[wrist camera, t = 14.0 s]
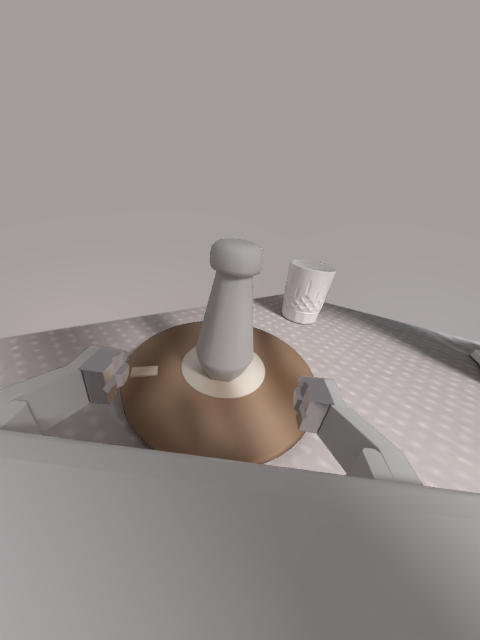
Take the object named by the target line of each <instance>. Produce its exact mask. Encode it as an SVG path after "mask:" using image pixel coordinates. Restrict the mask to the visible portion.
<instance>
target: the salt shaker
mask: <svg viewBox="0 0 480 640" xmlns="http://www.w3.org/2000/svg"><path fill="white" fill-rule="evenodd" d="M210 265H211V267H212V268H213V269H214V270H216V275H215V279H214V282H213V286H212V290H211V294H210V298H209V301H208V305H207V309H206V312H205V316H204V320H203V324H202V327H201V331H200V335H199V339H198V342H197V346H196V354H197V357H198V359H199V362H200V363H201V365H202V367H203V369H204V370H205V371H206V373H207V374H208V376H209V377H210V378H211V380H218V381H224V382H231V381H232V380H234V379H235V378H237V377H238V376H240V375H241V374H242V373H243V372H244V371H245V370H246V368H247V367H248V366H249V364H250V363H251V362H252V360H253V276H255V275H257V274H259V273H260V271H261V269H262V265H263V250H262V249H261V247H260V246H258V245H257V244H255V243H253V242H249V241H246V240H240V239H220V240H218V241H217V242H215V243H214V244H213V245H212V247H211V251H210Z"/></svg>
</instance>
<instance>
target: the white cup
mask: <svg viewBox="0 0 480 640" xmlns="http://www.w3.org/2000/svg"><path fill="white" fill-rule="evenodd" d="M336 272H337V270H336V269H335V268H334V267H332V266H330V265H327V264H324V263H320V262H316V261H310V260H303V259H295V260H291V261H290V266H289V272H288V277H287V282H286V287H285V293H284V301H283V306H282V311H281V312H282V315H283V316H284V317H285V318H287V319H288V320H290V321H293V322H296V323H300V324H312V323H315V321H316V319H317V317H318V314H319V312H320V310H321V309H322V306H323V304H324V302H325V299H326V297H327V294H328V291H329V289H330V287H331V284H332V281H333V279H334V276H335V274H336Z"/></svg>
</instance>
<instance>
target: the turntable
mask: <svg viewBox="0 0 480 640" xmlns="http://www.w3.org/2000/svg"><path fill="white" fill-rule="evenodd" d="M202 324H203V321H201V322H193V323H187V324H183V325H179V326H175V327H172V328H169V329H167V330H164V331H162V332H160V333H158V334H156V335H154V336H153V337H151V338H149V339H148V340H147V341H145V342H144V343H143V344H142V345H141V346H139V347H138V348H137V349H136V350H135V352H134V353H133V354H132V355H131V356H130V358H129V360H128V361H127V364H128V365H129V376H128V378H127V381H126V382H125V384H124V385H123V386H121V387H120V388H121V399H122V404H123V408H124V412H125V415H126V417H127V419H128V421H129V423H130V425H131V427H132V428H133V429H134V431H135V432H136V433H137V435H138V436H139V437H140V438H141V439H142V440H143V441H144V442H145V443H146V444H147V445H148V446H150V447H151V448H153V449H154V450H158V451H166V452H173V453H181V454H188V455H196V456H203V457H211V458H218V459H226V460H233V461H241V462H248V463H256V464H264V463H266V462H269V461H271V460H273V459H275V458H277V457H279V456H281V455H282V454H284V453H285V452H286V451H288V450H289V449H291V448H292V447H293V446H294V445H295V444H296V443H297V442H298V441H299V440H300V439H301V438H302V436H303V435H304V433H305V431H299V430H298V426H297V421H296V415H297V412H296V411H295V409H294V406H293V394H294V391H295V388H297V387H298V386H299V385H298V379H299V377H300V376H301V375H302V376H310V377H313V374H312V372H311V370H310V368H309V367H308V365H307V364H306V362H305V361H304V360H303V359H302V357H301V356H300V355H299V354H298V353H297V352H296V351H295V350H294V349H293V348H292V347H290V346H289V345H288V344H286V343H285V342H283V341H282V340H280V339H279V338H277V337H275V336H273V335H271V334H269V333H267V332H265V331H262V330H260V329H257V328H254V327H253V360H252V362H251V363H250V364H249V366H248V367H247V368H246V370H245V371H244V372H243V373H242V374H241V375H240V376H238V377H237V378H235V379H234V380H232V381H231V382H224V381H218V380H211V378H210V377H209V376H208V374H207V373H206V371H205V370H204V369H203V367H202V365H201V363H200V362H199V359H198V357H197V354H196V346H197V342H198V339H199V335H200V331H201V327H202Z"/></svg>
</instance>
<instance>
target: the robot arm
mask: <svg viewBox="0 0 480 640" xmlns="http://www.w3.org/2000/svg"><path fill="white" fill-rule="evenodd" d="M470 355H471V356H472V358H473V359H475V360H476V361H477V362H478V363H479V365H480V350H474V351H473V352H472V353H471V354H470ZM127 358H128V355H127V352H126V351H125V350H119V349H113V348H107V347H100V346H94V345H92V346H89V347H88V348H87V349H86V350H84V351H83V352H82V353H81V354H80V355H79V356H77V357H76V358H75V359H74V360H73V361H72V362H70V363H69V364H68V365H67V366H66V367H65V368H62V367H60V368H57V369H55V370H52V371H49V372H47V373H44V374H41V375H38V376H36V377H33V378H30V379H28V380H25V381H22V382H20V383H17V384H14V385H11V386H9V387H6V388H3V389H1V390H0V640H480V493H473V492H466V491H458V490H450V489H443V488H435V487H428V486H423V484H422V483H421V481H420V479H419V478H418V476H417V474H416V473H415V471H414V470H413V468H412V466H411V465H410V463H409V461H408V460H407V458H406V456H405V455H404V453H403V452H402V451H401V450H400V449H399V448H397V447H396V446H395V445H394V444H393V443H392V442H390V441H389V440H388V439H387V438H386V437H384V436H383V435H382V434H381V433H380V432H379V431H377V430H376V429H375V428H374V427H373V426H371V425H370V424H369V423H368V422H367V421H366V420H364V419H363V418H362V417H361V416H360V415H358V414H357V413H356V412H355V411H354V410H353V409H351V408H350V407H347V406H346V404H345V402H344V400H343V398H342V395H341V393H340V391H339V389H338V387H337V385H336V383H335V381H334V380H333V379H327V378H317V377H310V376H302V375H301V376H300V377H299V379H298V385H299V386H298V387H297V388H295V391H294V394H293V406H294V409H295V411H296V412H297V415H296V421H297V426H298V430H299V431H305V432H311V433H317V435H318V436H319V437H320V439H321V440H322V441H323V443H324V444H325V445H326V447H327V448H328V449H329V451H330V452H331V453H332V455H333V456H334V457H335V459H336V460H337V461H338V463H339V464H340V465H341V466H342V468H343V469H344V470H345V472H346V473H347V474H346V475H338V474H331V473H323V472H316V471H308V470H301V469H294V468H286V467H278V466H271V465H263V464H256V463H248V462H241V461H233V460H226V459H218V458H211V457H203V456H196V455H188V454H181V453H173V452H166V451H158V450H151V449H144V448H136V447H129V446H121V445H114V444H106V443H99V442H91V441H84V440H76V439H69V438H61V437H54V436H46V435H41V434H42V433H44V432H45V431H47V430H49V429H50V428H52V427H53V426H55V425H56V424H58V423H60V422H61V421H63V420H64V419H66V418H67V417H69V416H71V415H72V414H74V413H75V412H77V411H78V410H80V409H82V408H83V407H85V406H86V405H88V404H89V402H91V403H100V404H109V405H110V403H111V402H112V400H113V399H114V398H115V396H116V395H117V394H118V389H117V388H119V387H121V386H123V385H124V384H125V382H126V381H127V378H128V376H129V365H128V364H127V362H126V360H127Z"/></svg>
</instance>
